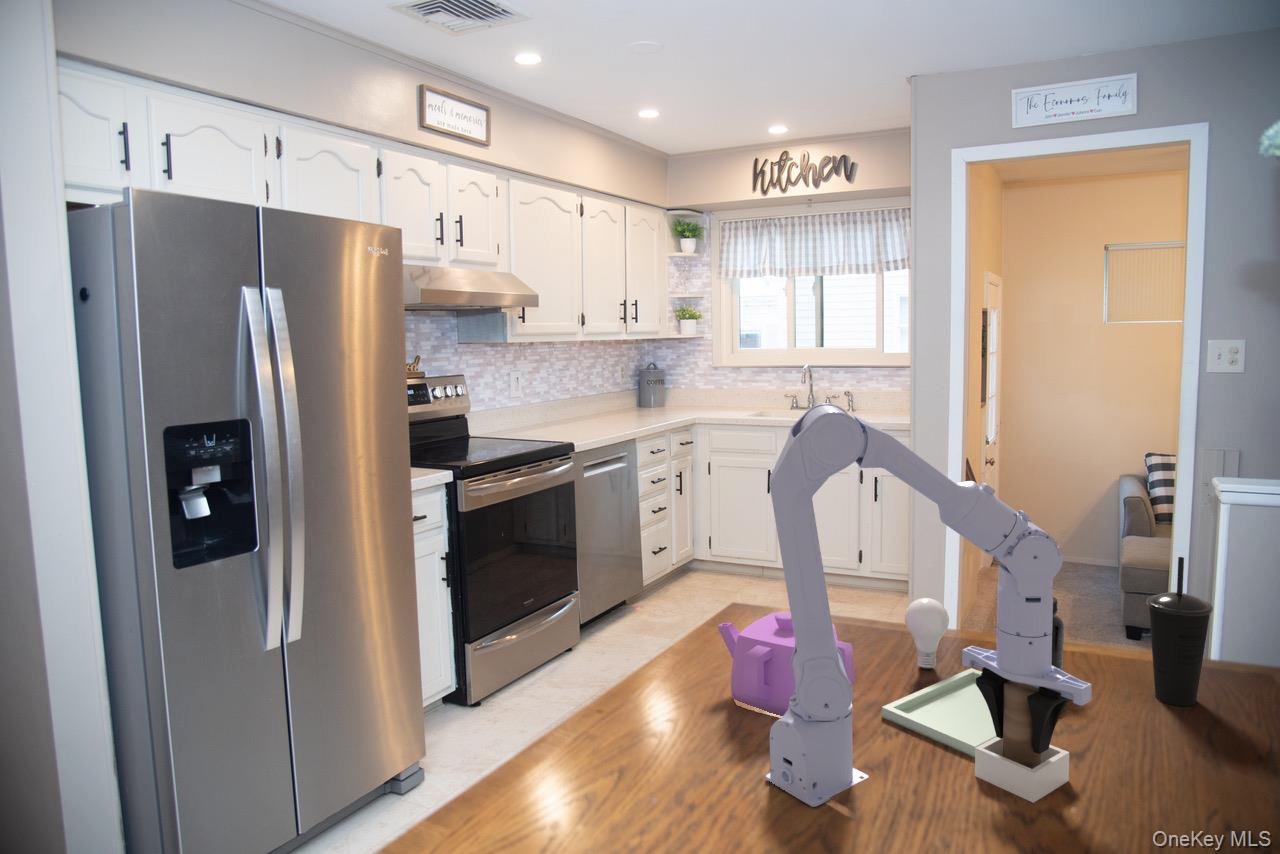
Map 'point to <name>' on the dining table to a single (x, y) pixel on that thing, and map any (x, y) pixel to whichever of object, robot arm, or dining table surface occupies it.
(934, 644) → the lightbulb
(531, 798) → the dining table surface
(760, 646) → the teakettle
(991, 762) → the square cup
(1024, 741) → the walnut dowel
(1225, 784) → the dining table surface
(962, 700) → the tray
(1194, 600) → the drinking cup
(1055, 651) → the supplement bottle
